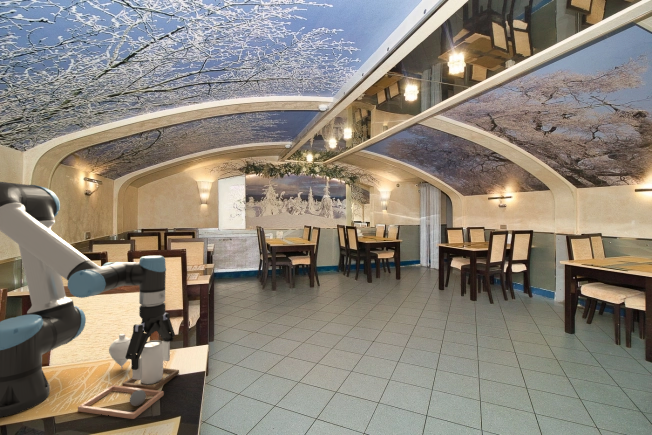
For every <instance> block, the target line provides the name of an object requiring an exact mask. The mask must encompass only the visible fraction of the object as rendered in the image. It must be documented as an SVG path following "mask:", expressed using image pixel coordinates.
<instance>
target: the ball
mask: <svg viewBox="0 0 652 435" xmlns="http://www.w3.org/2000/svg"><path fill="white" fill-rule="evenodd" d="M146 399H147V395H146V393H145V392H144V391H143V390H137V391H135V392H133V393H131V395H130V397H129V402H130V405H131V406H133V407H139V406H141V405H143V404H144V402H145V401H146Z"/></svg>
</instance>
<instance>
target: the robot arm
mask: <svg viewBox="0 0 652 435" xmlns="http://www.w3.org/2000/svg"><path fill="white" fill-rule="evenodd" d="M60 209H61V202H60V199H59V197H58V196H57V195H56V193H55V192H53V190H51V189H49V188H48V187H45V186H39V185H37V184H22V183H13V182H5V181H0V232H1V233H2V234H4V235H6V236H7V237H8V238H9V239H10V240H12V241H13V242H15V243H16V244H17V245H18V249H19V253H20V257H21V261H22V262H21V263H22V266H23V271H24V276H25V280H26V285H27V287H28V288H27V289H28V293H29V298H30V302H31V306H30V308H29V309H28V310H27V312H26V314H23V315H18V316H16V317H10V318H6V319H4V320H1V321H0V418H3V416H4V417H8V415H9V416H12V415H16V414H19V413H22V412H24V411H27V410H29V409H31V408H33V407H35V406H37V405H39V404H40V403H42V402H44V401H45V400H46V399H48V397H49V395H50V383H49V382H48V379H47V377H46V375H45V373H44V371H43V364H42V363H43V355H44V354H46V353H49V352H51V351H53V350H55V349H57V348H59V347H61V346H63V345H67V344H69V343H70V342H72V340H75V339H77V338H78V337H79V336H80V335H81V334H82V332H83V331H84V329H85V327H86V322H87V320H86V318H87V317H86V314H85V312H84V310H83V309H80V306H77V305H74V300H73V299H71V298H70V297H68V296H67V295H66V290H65V286H64V282H63V278H64V279H65V280H66V281H67V289H68V290H69V293H70V294H71V295H72V296H74V297H76V298H80V299H83V298H84V299H85V298H89V297H94V296H97V295H99V294H102V293H104V292H107V291H110V290H114V289H117V288H120V287H123V286H138V287H139V293H138V294H139V295H138V296H139V297H138V298H139V299H138V300H139V301H138V302H139V304H140V305H139V307H138V309H139V311H138V312H139V313H138V314H139V317H140V318H141V323H140V324H135V323H134V325H133V328H132V334H131V337H130V338H131V340H130V344H129V347H128V350H127V353H126V357H125V358H126V359H128V360H131V374H132V377H131V378H132V379H137V380H140V381H141V379H142V357H141V353H142V351H143V349H144V347H145V344H146V342H148V341H149V340H148V339H149V338H150V337H151V336H152V334H154V333H155V332H157V334H158V335H159V336H160V337H161V339H162V340H161V341H162V345H163V362H169V361H170V359H171V358H170V357H171V355H170V354H171V342H172V341H174V337H175V336H176V334H175V331H174V327H173V324H172V321H171V319H170V317H171V316H170V312H166V303H165V302H166V279H167V278H166V277H167V276H166V273H167V268H166V266H167V265H166V258H165V257H164V256H163V255H145V256H141V257H140V258H139V261H138V262H131V261H130V262H129V261H127V262H126V261H113V262H111V261H110V262H105V263H104V264H102V266H99V265H98V264H97V263H95V262H94V261H92V260H91V259H89V258H88V257H87V256H86V255H84V254H83V253H81V252H80V251H79V250H78V249H76V248H75V247H73V246H72V244H70V243H68V242H67V241H66V240H64V239H63V238H61V237H60V236H58V235H57V234H56V233H55V232H54V231H52V229H51V228H52V227H53V225H54V224H55V223H56V220H55V217H57V215H58V214H59V211H61V210H60ZM130 354H131V355H130ZM137 380H136V381H137Z"/></svg>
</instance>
